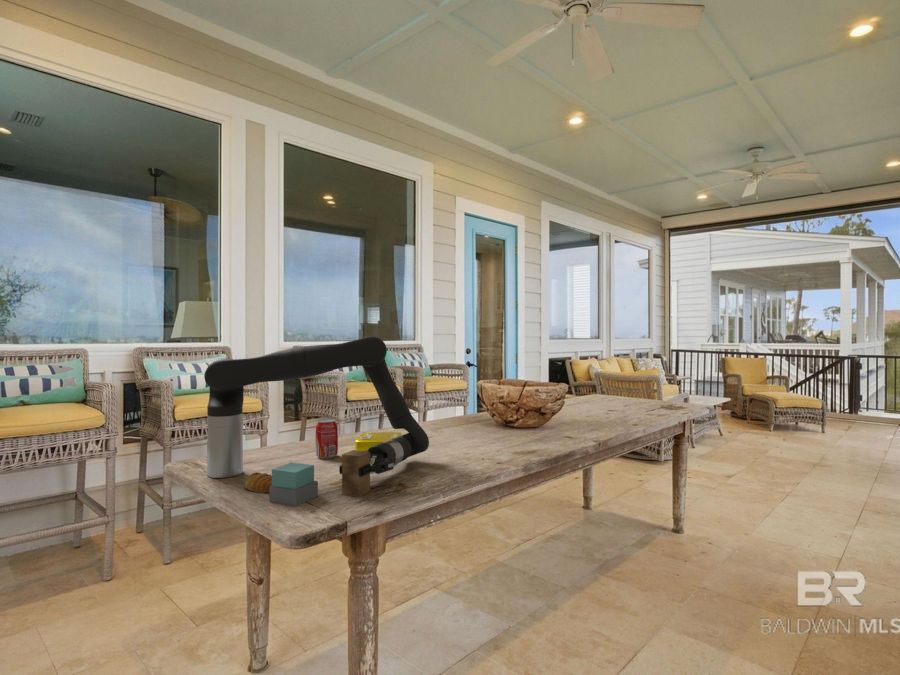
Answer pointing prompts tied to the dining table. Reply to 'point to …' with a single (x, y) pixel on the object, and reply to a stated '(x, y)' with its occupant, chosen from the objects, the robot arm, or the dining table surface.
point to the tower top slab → (292, 475)
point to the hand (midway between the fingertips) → (350, 471)
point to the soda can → (326, 438)
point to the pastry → (258, 482)
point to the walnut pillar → (355, 473)
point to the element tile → (373, 439)
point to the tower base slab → (293, 494)
